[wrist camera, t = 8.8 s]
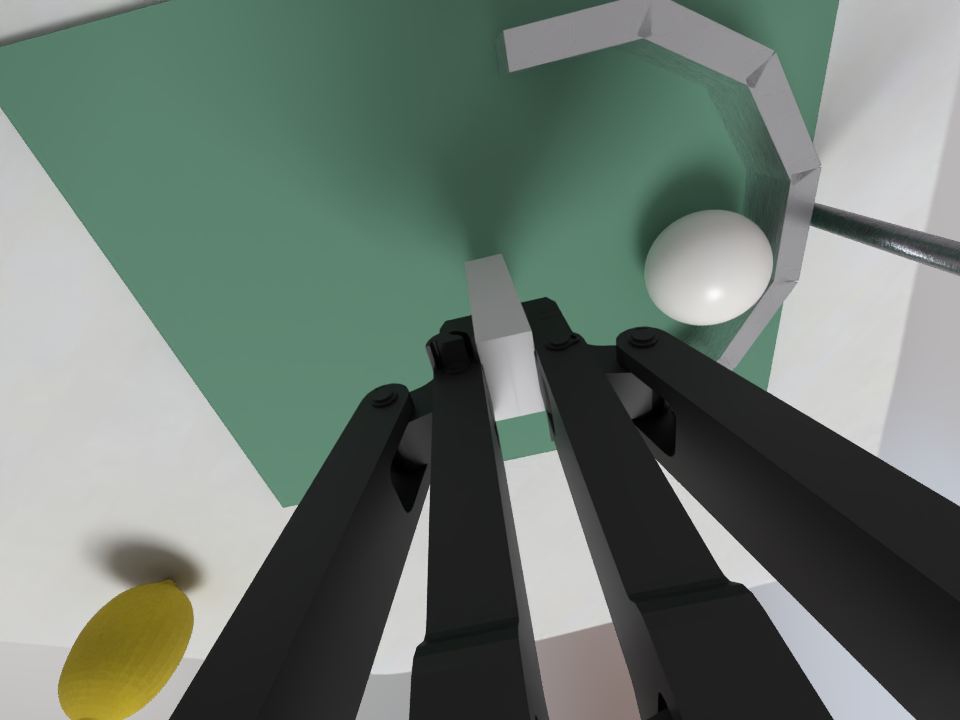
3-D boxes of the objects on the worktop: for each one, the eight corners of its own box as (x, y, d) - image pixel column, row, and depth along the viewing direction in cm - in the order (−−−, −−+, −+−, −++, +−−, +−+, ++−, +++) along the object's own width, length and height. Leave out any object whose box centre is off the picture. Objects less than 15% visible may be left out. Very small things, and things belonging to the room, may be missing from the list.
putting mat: (-21, 58, 14) (-36, 56, 13) (860, -183, 12) (874, -193, 12) (285, 500, 25) (283, 507, 25) (758, 400, 24) (764, 406, 23)
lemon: (131, 546, 26) (23, 701, 20) (224, 568, 28) (155, 717, 21) (116, 592, 29) (14, 746, 22) (203, 610, 30) (134, 757, 24)
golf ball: (643, 239, 14) (798, 234, 13) (649, 197, 18) (774, 188, 16) (638, 344, 17) (767, 350, 15) (644, 291, 20) (751, 292, 19)
